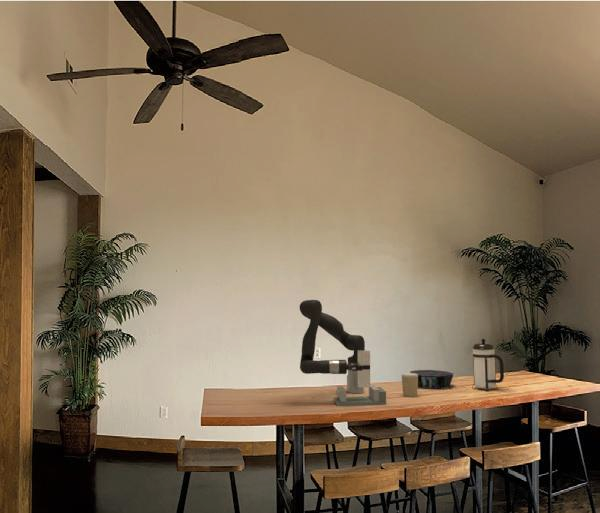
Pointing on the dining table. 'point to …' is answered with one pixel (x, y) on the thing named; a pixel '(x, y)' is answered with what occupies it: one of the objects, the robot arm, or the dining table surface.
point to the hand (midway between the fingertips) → (368, 366)
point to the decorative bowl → (433, 379)
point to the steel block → (364, 374)
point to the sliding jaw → (341, 394)
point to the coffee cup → (410, 384)
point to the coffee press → (485, 366)
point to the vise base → (365, 398)
